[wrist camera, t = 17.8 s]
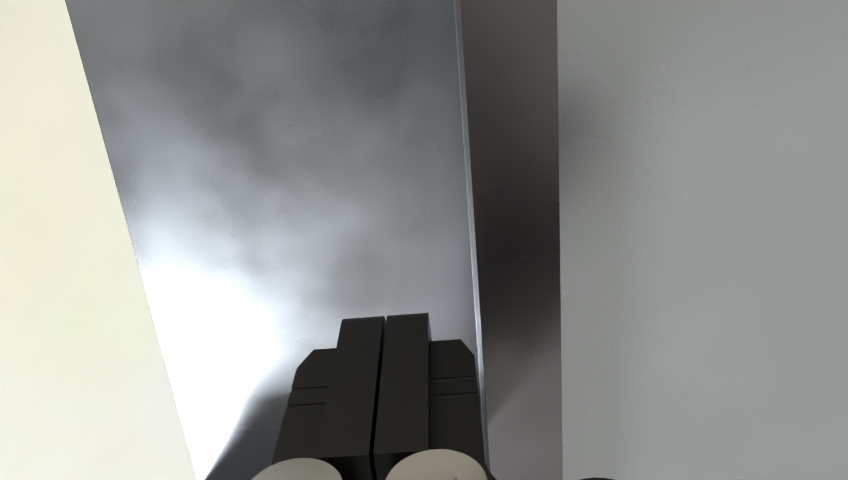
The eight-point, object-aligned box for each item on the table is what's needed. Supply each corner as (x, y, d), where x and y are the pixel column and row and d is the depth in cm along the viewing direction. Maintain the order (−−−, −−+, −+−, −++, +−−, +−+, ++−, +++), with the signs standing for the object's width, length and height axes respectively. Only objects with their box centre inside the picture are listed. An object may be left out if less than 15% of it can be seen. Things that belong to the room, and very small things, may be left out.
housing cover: (496, 638, 20) (511, 803, 17) (429, -354, 11) (431, -462, 8) (827, 621, 20) (915, 784, 16) (1033, -420, 11) (1331, -564, 7)
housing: (222, 477, 27) (163, 651, 21) (37, -244, 18) (-164, -306, 12) (734, 444, 27) (825, 615, 21) (817, -326, 17) (1032, -437, 11)
